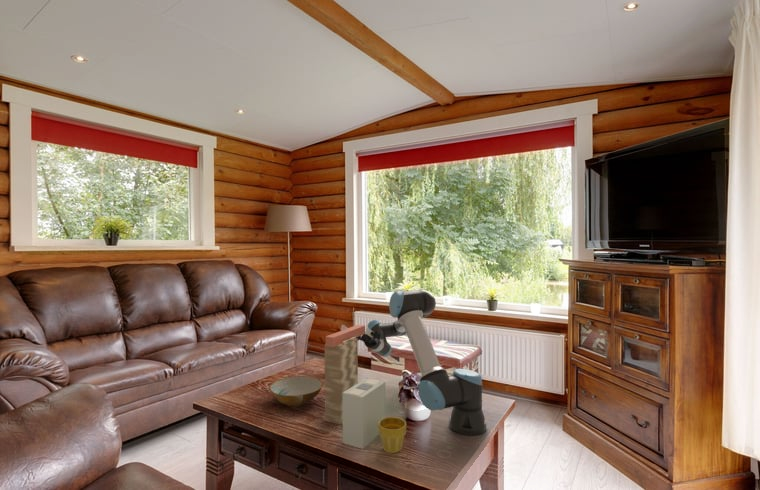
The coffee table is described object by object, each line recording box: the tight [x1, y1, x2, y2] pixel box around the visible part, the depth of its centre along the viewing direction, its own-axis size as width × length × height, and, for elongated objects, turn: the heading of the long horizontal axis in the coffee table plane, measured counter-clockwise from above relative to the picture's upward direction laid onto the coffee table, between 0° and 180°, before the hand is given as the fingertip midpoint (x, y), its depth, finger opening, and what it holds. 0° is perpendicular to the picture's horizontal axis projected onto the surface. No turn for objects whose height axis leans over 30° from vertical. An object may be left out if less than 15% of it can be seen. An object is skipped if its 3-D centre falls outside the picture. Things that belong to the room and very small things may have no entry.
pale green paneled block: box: [342, 377, 386, 450], centre depth 160 cm, size 18×9×20 cm, turn 151°
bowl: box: [268, 375, 324, 407], centre depth 193 cm, size 25×25×8 cm
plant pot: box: [379, 416, 407, 454], centre depth 150 cm, size 10×10×10 cm
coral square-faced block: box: [325, 324, 366, 347], centre depth 181 cm, size 26×4×4 cm, turn 151°
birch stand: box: [323, 337, 359, 426], centre depth 178 cm, size 15×9×34 cm, turn 151°
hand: (354, 328), depth 187 cm, fingers open, 13 cm apart
